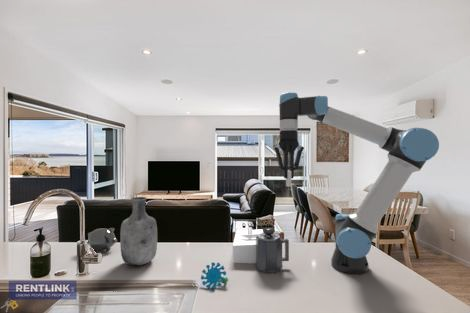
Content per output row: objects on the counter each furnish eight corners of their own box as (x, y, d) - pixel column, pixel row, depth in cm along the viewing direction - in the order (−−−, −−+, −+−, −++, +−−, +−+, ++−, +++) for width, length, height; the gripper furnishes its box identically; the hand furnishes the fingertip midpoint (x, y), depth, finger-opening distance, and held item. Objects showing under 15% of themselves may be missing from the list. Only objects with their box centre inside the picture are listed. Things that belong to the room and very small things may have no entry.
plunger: (275, 257, 120) (275, 226, 120) (279, 264, 112) (279, 231, 112) (258, 257, 119) (258, 227, 119) (261, 265, 111) (261, 232, 111)
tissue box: (234, 264, 121) (232, 240, 121) (237, 246, 146) (235, 226, 146) (265, 263, 120) (264, 239, 120) (263, 244, 145) (262, 224, 145)
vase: (112, 268, 118) (111, 200, 117) (136, 254, 133) (135, 194, 133) (143, 272, 113) (142, 202, 113) (164, 258, 128) (163, 196, 128)
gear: (195, 282, 101) (208, 258, 107) (200, 287, 105) (212, 264, 111) (220, 293, 96) (232, 267, 102) (224, 298, 100) (235, 273, 106)
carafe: (284, 261, 122) (284, 231, 122) (291, 272, 111) (291, 239, 111) (254, 263, 121) (254, 232, 120) (258, 274, 110) (258, 240, 110)
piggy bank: (111, 255, 133) (110, 232, 132) (81, 254, 133) (81, 231, 133) (121, 247, 144) (121, 225, 144) (94, 246, 145) (94, 225, 144)
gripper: (300, 131, 117) (300, 184, 117) (271, 131, 116) (271, 185, 116) (306, 129, 109) (306, 187, 110) (275, 129, 108) (275, 187, 108)
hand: (288, 186), depth 113 cm, fingers closed
